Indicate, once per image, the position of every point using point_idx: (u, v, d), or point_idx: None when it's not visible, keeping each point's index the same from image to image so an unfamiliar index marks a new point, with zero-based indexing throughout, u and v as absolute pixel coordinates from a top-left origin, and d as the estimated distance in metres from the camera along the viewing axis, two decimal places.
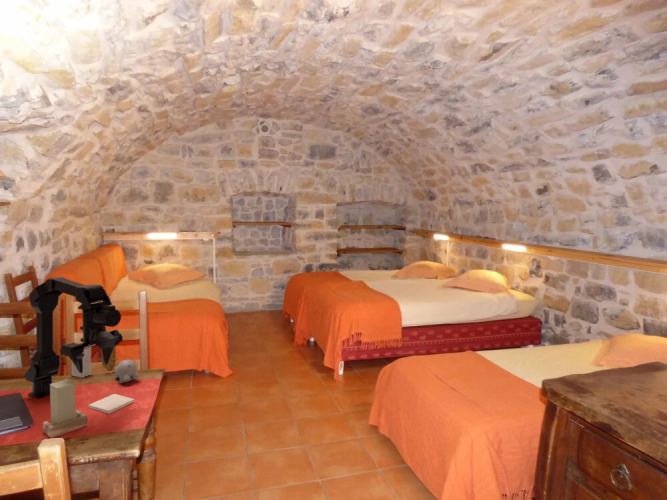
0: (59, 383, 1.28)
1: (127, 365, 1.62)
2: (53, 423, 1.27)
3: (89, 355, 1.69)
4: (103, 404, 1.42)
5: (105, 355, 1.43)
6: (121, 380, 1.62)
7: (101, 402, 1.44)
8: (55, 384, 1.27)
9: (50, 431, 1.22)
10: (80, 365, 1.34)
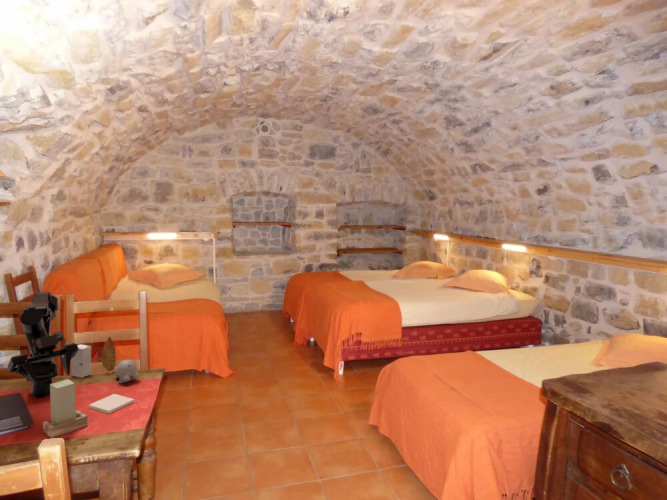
0: (59, 383, 1.28)
1: (127, 365, 1.62)
2: (53, 423, 1.27)
3: (89, 355, 1.69)
4: (103, 404, 1.42)
5: (65, 367, 1.37)
6: (121, 380, 1.62)
7: (101, 402, 1.44)
8: (55, 384, 1.27)
9: (50, 431, 1.22)
10: (31, 374, 1.28)
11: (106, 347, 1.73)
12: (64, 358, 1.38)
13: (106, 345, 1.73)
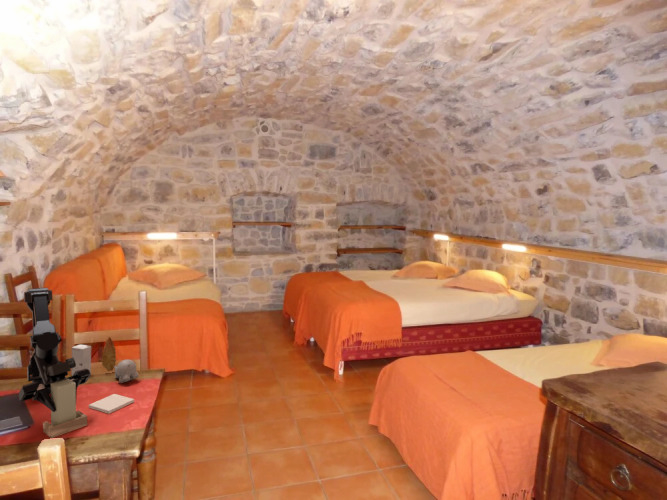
0: (60, 383, 1.28)
1: (127, 365, 1.62)
2: (53, 423, 1.27)
3: (89, 355, 1.69)
4: (103, 404, 1.42)
5: None
6: (121, 380, 1.62)
7: (101, 402, 1.44)
8: (56, 384, 1.27)
9: (50, 431, 1.22)
10: (49, 402, 1.25)
11: (106, 347, 1.73)
12: None
13: (106, 345, 1.73)
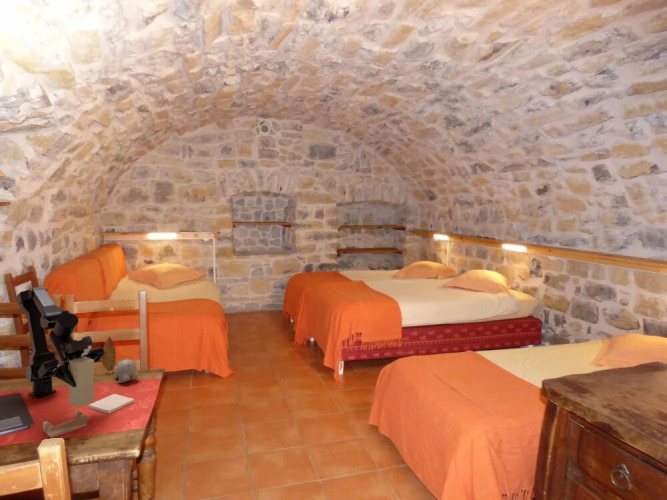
0: (78, 360, 1.32)
1: (127, 365, 1.62)
2: (72, 399, 1.31)
3: None
4: (103, 404, 1.42)
5: None
6: (120, 380, 1.62)
7: (101, 402, 1.44)
8: (74, 361, 1.31)
9: (50, 431, 1.22)
10: (70, 377, 1.29)
11: (106, 347, 1.73)
12: None
13: (106, 345, 1.73)
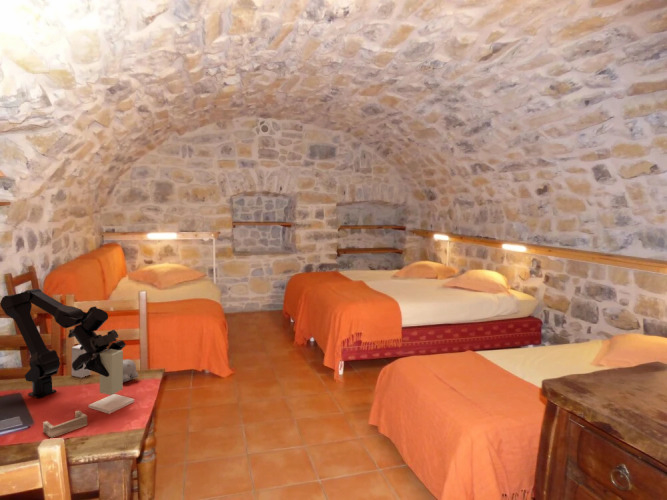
0: (108, 352, 1.43)
1: (126, 365, 1.62)
2: (103, 388, 1.42)
3: None
4: (103, 404, 1.42)
5: None
6: None
7: (101, 402, 1.44)
8: (105, 353, 1.42)
9: (50, 431, 1.22)
10: (103, 368, 1.40)
11: (106, 347, 1.73)
12: None
13: None
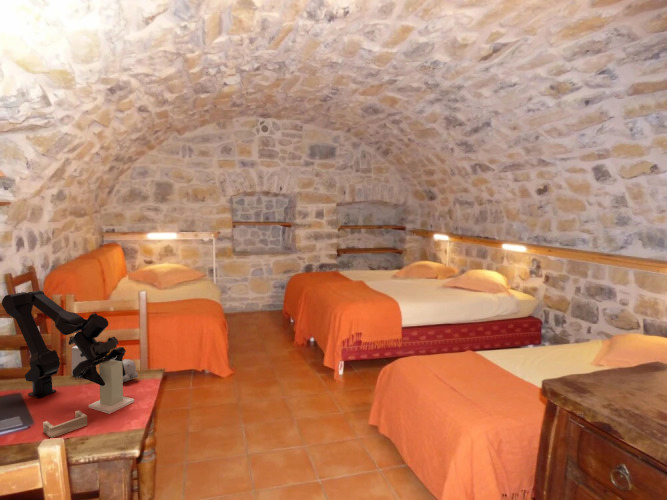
0: (108, 363, 1.43)
1: (126, 365, 1.62)
2: (104, 399, 1.42)
3: None
4: (103, 404, 1.42)
5: None
6: None
7: None
8: (105, 364, 1.42)
9: (50, 431, 1.22)
10: (98, 377, 1.38)
11: None
12: None
13: None
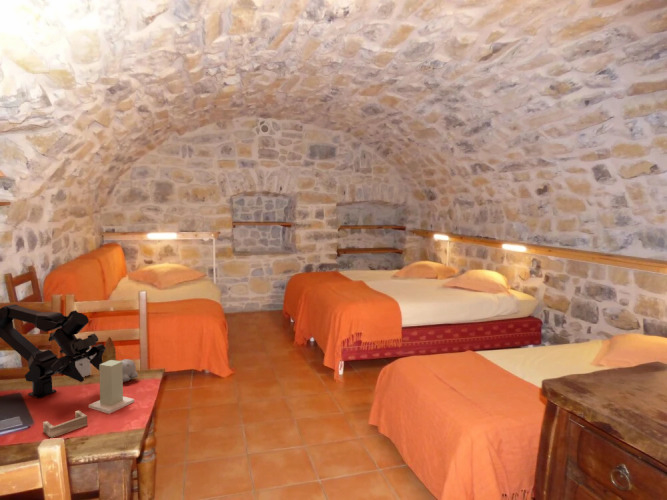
0: (108, 363, 1.43)
1: (126, 365, 1.62)
2: (104, 399, 1.42)
3: None
4: (103, 404, 1.42)
5: (98, 365, 1.50)
6: None
7: None
8: (105, 364, 1.42)
9: (50, 431, 1.22)
10: (77, 373, 1.41)
11: (106, 347, 1.73)
12: (95, 358, 1.51)
13: (106, 345, 1.73)
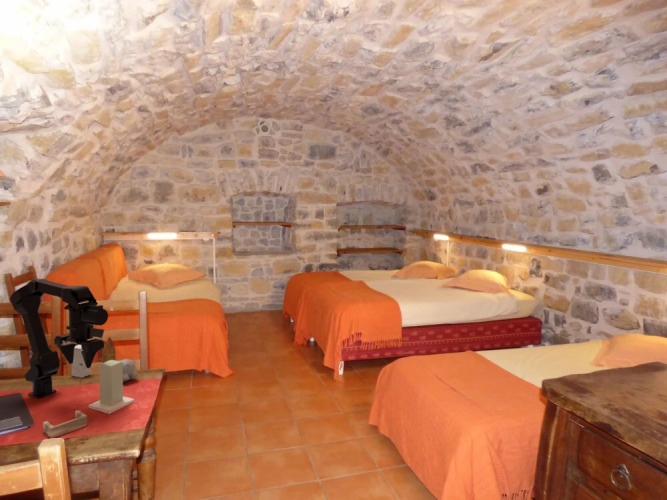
0: (108, 363, 1.43)
1: (126, 365, 1.62)
2: (104, 399, 1.42)
3: None
4: (103, 404, 1.42)
5: (70, 355, 1.47)
6: None
7: None
8: (105, 364, 1.42)
9: (50, 431, 1.22)
10: None
11: (106, 347, 1.73)
12: (71, 346, 1.47)
13: (106, 345, 1.73)
